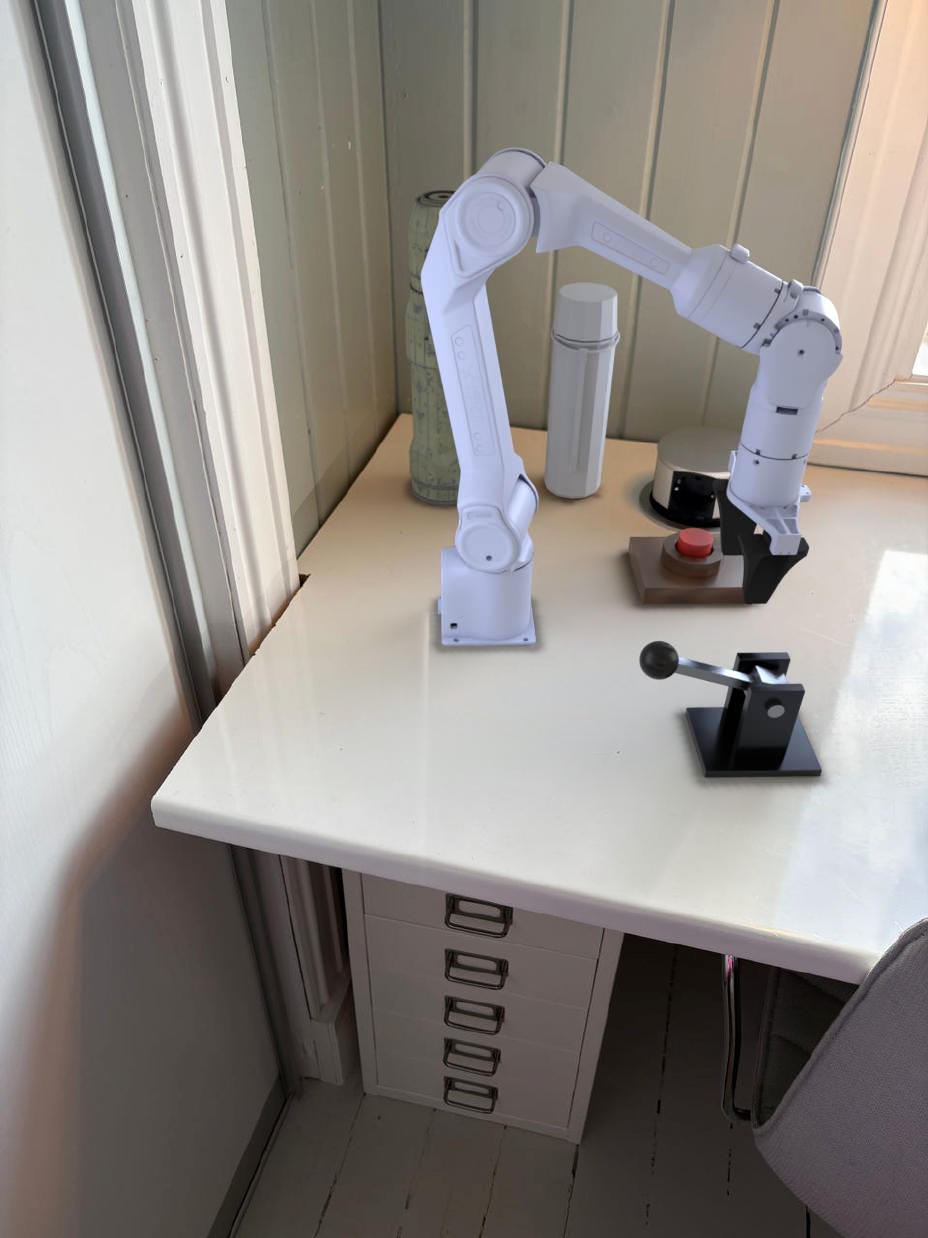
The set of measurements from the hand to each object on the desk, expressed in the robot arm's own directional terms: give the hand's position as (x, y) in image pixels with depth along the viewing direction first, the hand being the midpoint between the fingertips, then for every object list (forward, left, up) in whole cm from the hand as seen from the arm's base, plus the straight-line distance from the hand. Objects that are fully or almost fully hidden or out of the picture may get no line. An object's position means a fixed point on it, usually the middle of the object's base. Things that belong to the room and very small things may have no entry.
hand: (743, 576), depth 86 cm
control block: (0, +14, -10) cm, 18 cm away
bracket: (0, -12, -10) cm, 15 cm away
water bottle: (-11, +33, -10) cm, 37 cm away
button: (0, +14, -6) cm, 16 cm away
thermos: (-27, +34, -10) cm, 45 cm away
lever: (-6, -12, -3) cm, 13 cm away
